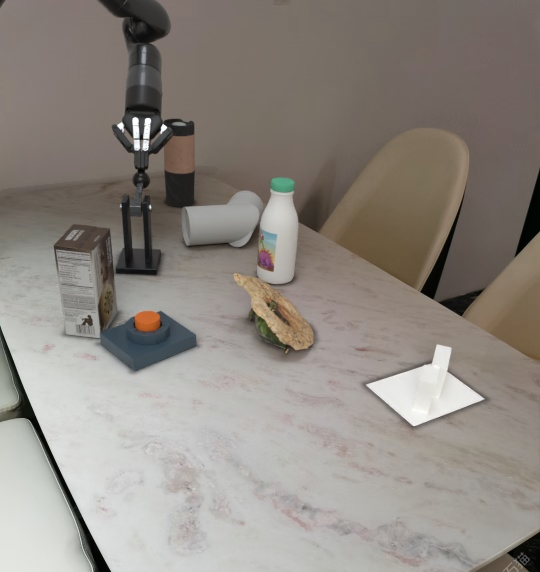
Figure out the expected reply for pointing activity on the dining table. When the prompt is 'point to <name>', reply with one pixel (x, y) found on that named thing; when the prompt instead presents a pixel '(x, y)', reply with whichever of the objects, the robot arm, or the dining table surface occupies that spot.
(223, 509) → the dining table surface
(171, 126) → the travel mug
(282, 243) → the milk bottle
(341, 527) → the dining table surface
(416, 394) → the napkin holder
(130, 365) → the button box
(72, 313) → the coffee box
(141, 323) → the button
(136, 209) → the lever
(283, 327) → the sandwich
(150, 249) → the bracket
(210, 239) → the elbow connector
